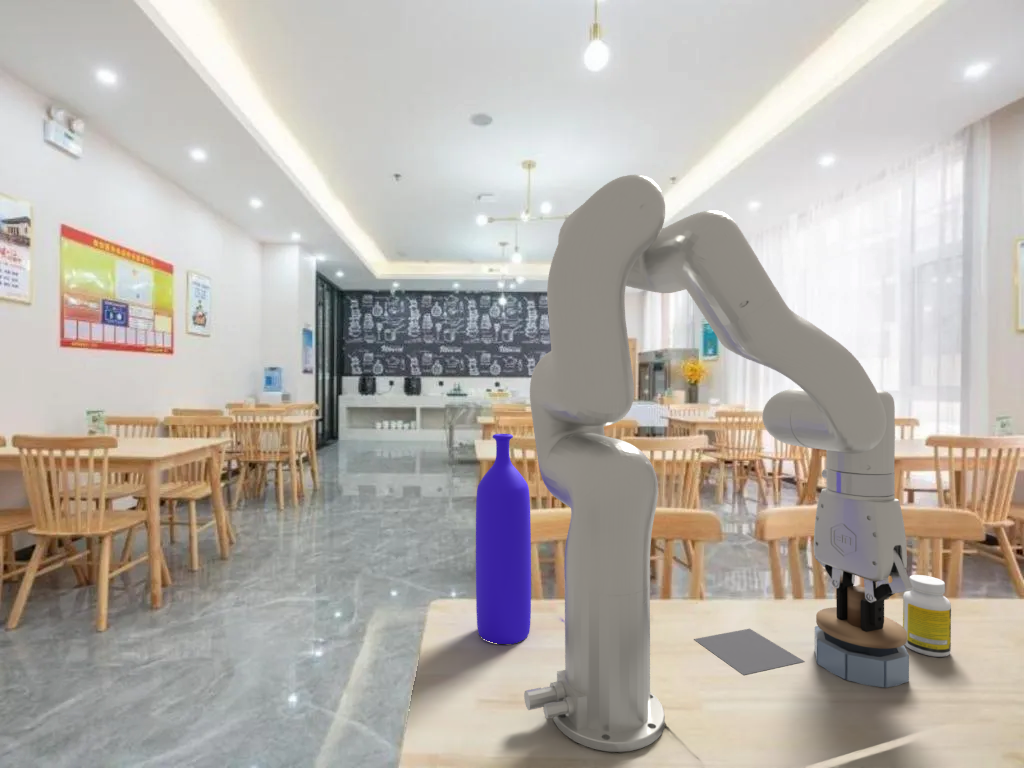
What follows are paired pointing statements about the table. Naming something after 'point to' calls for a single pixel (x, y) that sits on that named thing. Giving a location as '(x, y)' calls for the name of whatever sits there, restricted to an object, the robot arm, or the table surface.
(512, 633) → the bottle
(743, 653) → the mat
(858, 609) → the lid
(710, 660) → the table surface
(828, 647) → the bowl
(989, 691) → the table surface
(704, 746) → the table surface
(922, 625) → the supplement bottle
